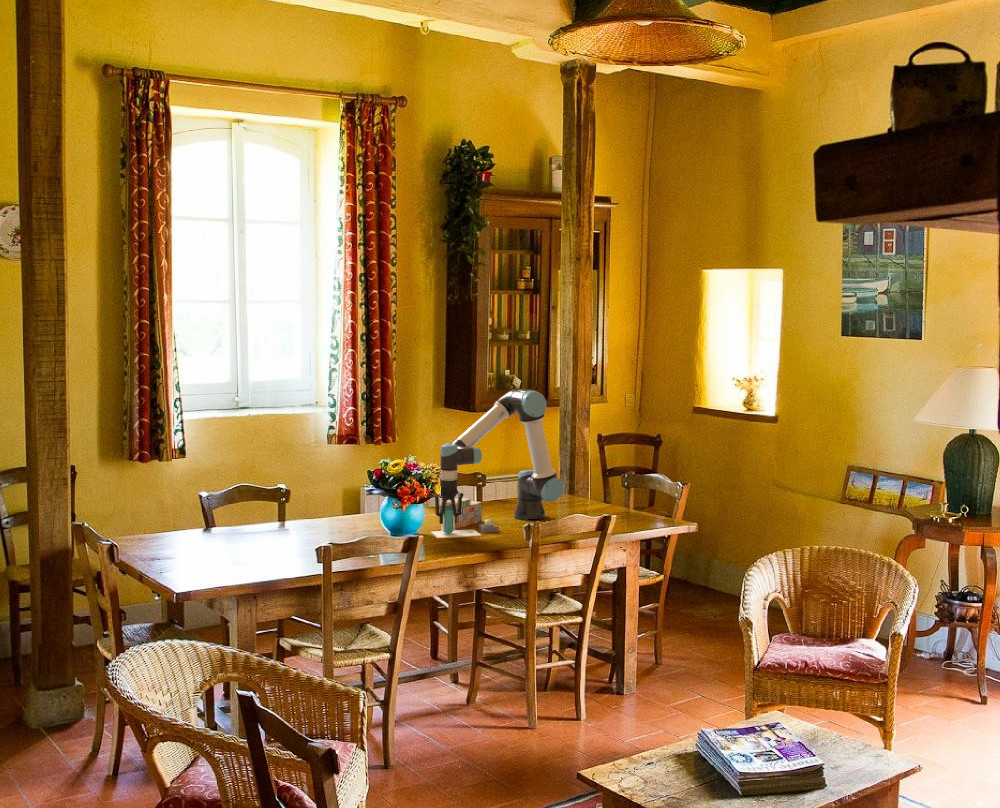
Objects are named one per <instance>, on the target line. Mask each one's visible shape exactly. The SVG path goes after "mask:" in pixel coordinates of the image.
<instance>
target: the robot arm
mask: <svg viewBox="0 0 1000 808" xmlns="http://www.w3.org/2000/svg"><path fill="white" fill-rule="evenodd" d="M546 409H547V400H546V398H545V397H544V395H543V394H542V393H541V392H538V391H536V390H532V389H526V388H514V389H511V390H508V392H506V393H504V394H503V395H502V396H500V397H499V398H498V399H497V400H496V401H495V402H494V403H493V406H492V407H491V408H490V409H489V410H488V411H487V412H486V413H484V414H483V415H482V416H481V417H479V419H478V420H476V421H475V423H473V424H472V425H471V426H470V427H469V428H468V429H466V431H464V432H463V433H462V434H461V435H460V436H459V437H457V438H456V439H455V440H454V441H453V442H447V443H445V444H442V445H441V447H440V455H439V456H440V471H441V470H442V471H441V474H440V475H439V476H440V480H439V482H440V483H439V486H440V485H441V495H440V496H441V497H442V498H441V504H440V496H439V497H433V498H434V505H435V506H434V513H435V515H436V516H437V517H439V519H438V521H439V524H440V525H441V526H440V527H441V529H440V531H443V532H445V517H444V510H445V505H446V502H447V501H449V500H450V501H451V505H452V506H453V515H454V516H453V531H455V530H456V529H455V523H457V516H458V515H461V507H462V498H464V497H463V496H464V493H463V492H460V491H459V490H458V466H463V465H466V466H467V465H476V464H477V465H478V464H479V463H481V462H482V460H483V454H482V450H481V449H480V447H475V445H476V444H477V443H478V442H480V441H481V440H482V439H483V438H484V437H485V436H486V435H487V434H489V433H490V432H491V431H492V430H493V429H494V428H495V427H496V426H497V425H499V424H500V423H501V422H502V421H503V420H504V419H509V418H510V417H511V416H513V415H514V414H517V415H518V418H519V422H520V423H521V424H523V425H524V430H525V436H526V440H527V445H528V449H529V455H530V459H531V463H532V469H526V470H525V469H524V470H520V471H519V472H518V477H517V482H518V484H517V485H518V486H517V487H518V488H517V503H516V505H515V509H514V512H513V517H514V519H518V520H522V521H529V520H528V519H540V520H544V519H545V518H546V510H545V507H544V504H543V501H544V502H548V503H549V502H550V503H552V502H556V501H558V500H559V499H560V498H561V496H562V495H563V493H564V490H565V489H564V483H563V481H562V480H561V479H560V478H558V476H557V471H556V469H555V468H553V467H552V466H553V465H552V463H551V461H552V460H551V458H550V452H549V449H548V448H549V447H548V443H547V438H546V434H545V429H544V423H543V420H544V418H545V412H546ZM456 496H457V498H458V506H457V511H456V506H455V499H456ZM440 505H441V506H440ZM543 518H544V519H543Z"/></svg>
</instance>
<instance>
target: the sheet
mask: <svg viewBox="0 0 1000 808" xmlns="http://www.w3.org/2000/svg"><path fill="white" fill-rule="evenodd" d="M430 533H431V534H432V535H433V536H434V537H436V538H437V539H447V538H448V539H451V538H467V537H468V538H469V537H471V538H472V537H482V534H481V533H479V532H478V531H477V530H475V529H474V528H473V529H472V528H471V529H457V530H456V529H455V531H453V532H452V533H444V532H443V531H441V530H437V531H435V530H434V531H430Z"/></svg>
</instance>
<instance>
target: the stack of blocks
mask: <svg viewBox="0 0 1000 808" xmlns="http://www.w3.org/2000/svg"><path fill="white" fill-rule="evenodd" d="M454 499H455V506H456V511H457V506H458V497H457V498H454ZM446 505H451V501H450V500H447V502H446ZM482 505H483V504H482V502H481V501H473V500H471V498H467V497H462V507H461V515H458V516H457V523H455V530H456V529H457V530H458V529H460V528H464V527H467V526H470V525H473V524H476V523H481V522H482V520H483V517H482V514H483V511H482V510H483V509H482ZM453 516H454V515H453Z"/></svg>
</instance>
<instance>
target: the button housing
mask: <svg viewBox="0 0 1000 808" xmlns="http://www.w3.org/2000/svg"><path fill="white" fill-rule="evenodd" d="M478 530H479V531H480V532H481V533H483V534H489V533H499V526H498V525H496V524H495V523H492V526H489V527H485V523H480V524H478Z"/></svg>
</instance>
